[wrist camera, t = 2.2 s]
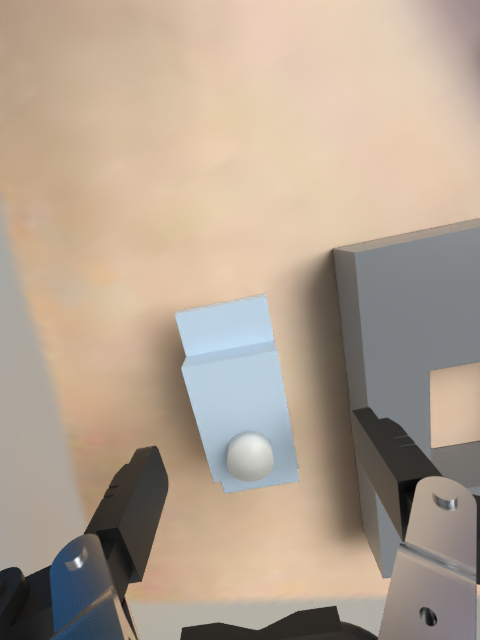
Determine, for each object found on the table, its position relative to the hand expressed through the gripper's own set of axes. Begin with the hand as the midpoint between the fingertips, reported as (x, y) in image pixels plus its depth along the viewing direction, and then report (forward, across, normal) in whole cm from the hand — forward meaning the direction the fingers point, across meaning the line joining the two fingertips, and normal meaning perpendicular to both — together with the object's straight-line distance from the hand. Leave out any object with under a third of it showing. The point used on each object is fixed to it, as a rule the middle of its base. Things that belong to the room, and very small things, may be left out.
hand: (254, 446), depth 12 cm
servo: (+6, 0, -1) cm, 6 cm away
